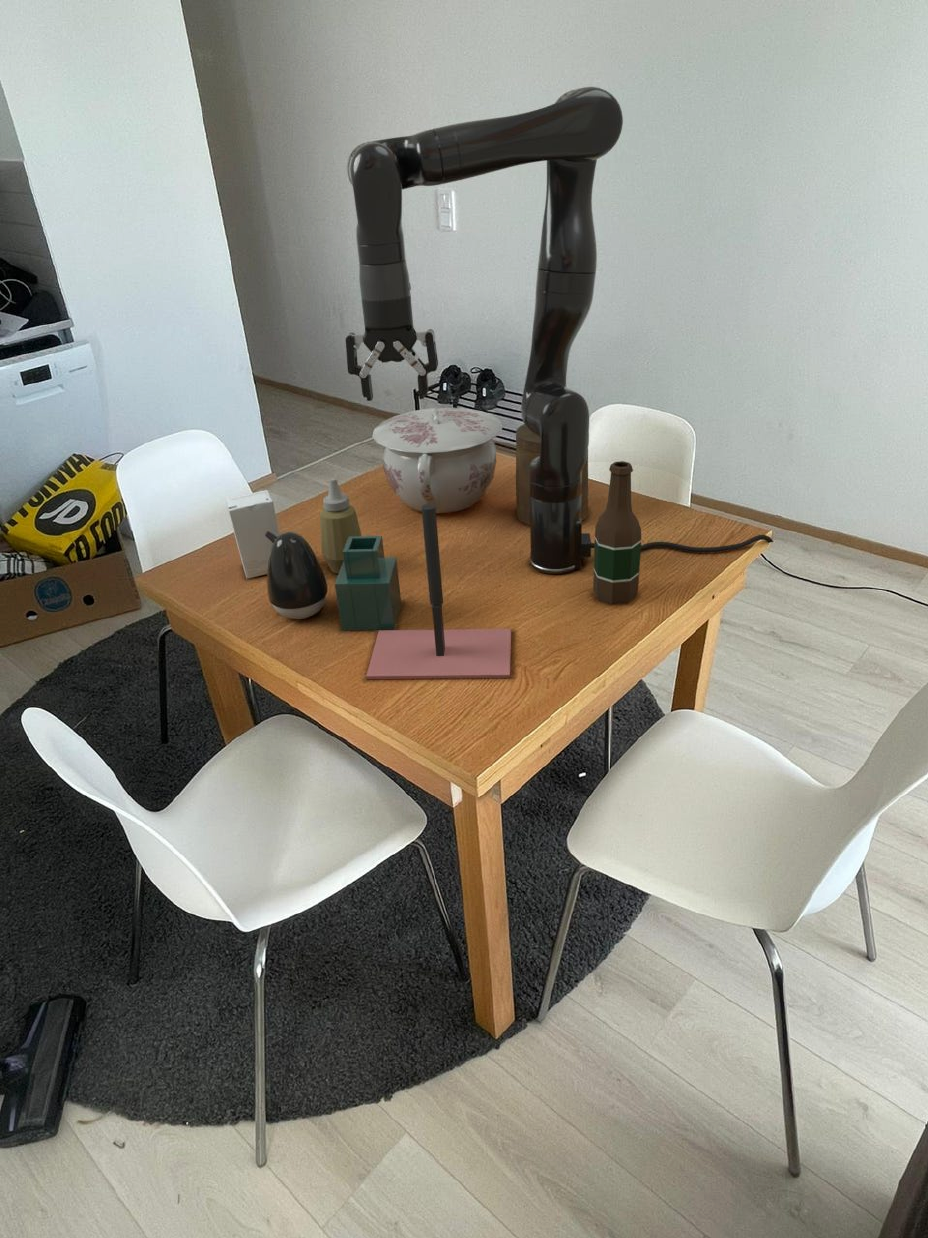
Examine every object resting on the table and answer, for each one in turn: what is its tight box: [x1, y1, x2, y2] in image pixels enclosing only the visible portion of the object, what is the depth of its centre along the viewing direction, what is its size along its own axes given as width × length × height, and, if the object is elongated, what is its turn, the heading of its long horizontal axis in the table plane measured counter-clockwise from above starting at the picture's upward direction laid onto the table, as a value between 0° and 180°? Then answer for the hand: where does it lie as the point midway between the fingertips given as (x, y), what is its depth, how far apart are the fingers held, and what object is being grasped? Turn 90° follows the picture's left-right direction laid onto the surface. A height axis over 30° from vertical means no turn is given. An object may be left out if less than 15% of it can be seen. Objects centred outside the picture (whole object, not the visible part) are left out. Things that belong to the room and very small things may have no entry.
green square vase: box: [334, 535, 402, 631], centre depth 139 cm, size 9×9×14 cm
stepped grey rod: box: [421, 504, 445, 656], centre depth 124 cm, size 2×3×25 cm
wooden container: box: [515, 423, 590, 526], centre depth 168 cm, size 15×15×22 cm
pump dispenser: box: [265, 531, 329, 620], centre depth 141 cm, size 10×10×15 cm
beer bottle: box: [592, 460, 642, 606], centre depth 138 cm, size 8×8×24 cm
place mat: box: [365, 628, 512, 680], centre depth 131 cm, size 22×13×1 cm, turn 86°
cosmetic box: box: [225, 489, 281, 580], centre depth 156 cm, size 8×6×15 cm
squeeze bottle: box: [319, 477, 363, 574], centre depth 153 cm, size 8×8×18 cm
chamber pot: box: [372, 406, 503, 514], centre depth 177 cm, size 28×28×21 cm
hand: (396, 398), depth 134 cm, fingers open, 8 cm apart
